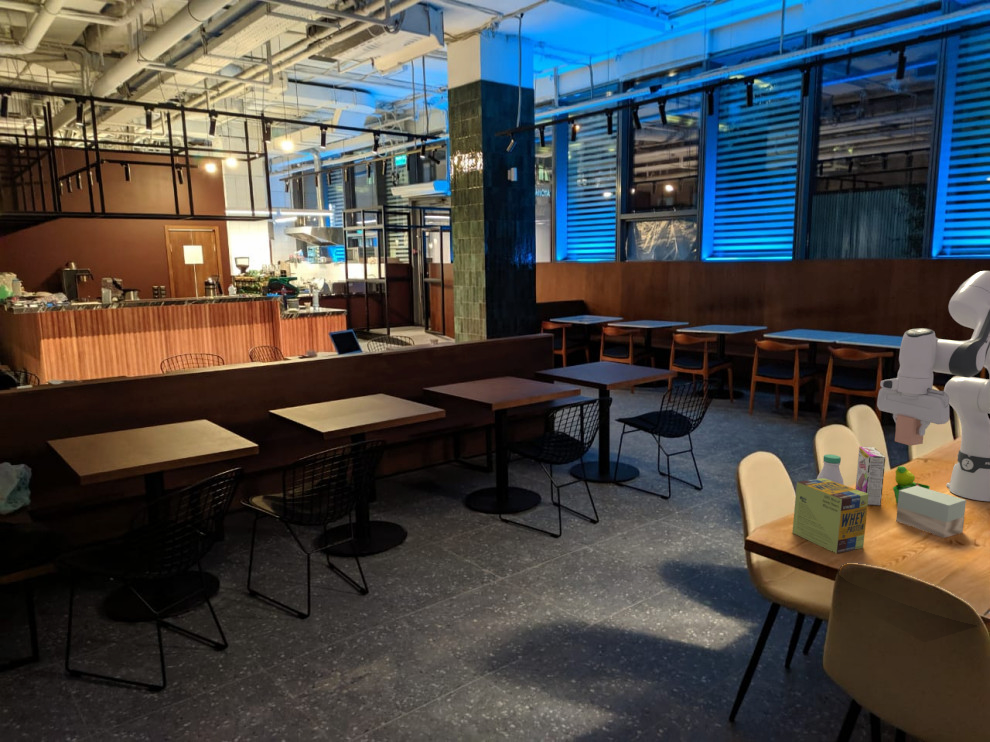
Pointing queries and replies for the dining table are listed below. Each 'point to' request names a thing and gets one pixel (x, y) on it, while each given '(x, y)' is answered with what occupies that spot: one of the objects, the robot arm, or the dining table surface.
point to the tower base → (930, 523)
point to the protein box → (830, 514)
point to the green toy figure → (905, 481)
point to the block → (908, 430)
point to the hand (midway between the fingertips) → (909, 432)
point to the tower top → (931, 503)
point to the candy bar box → (870, 474)
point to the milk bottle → (831, 469)
